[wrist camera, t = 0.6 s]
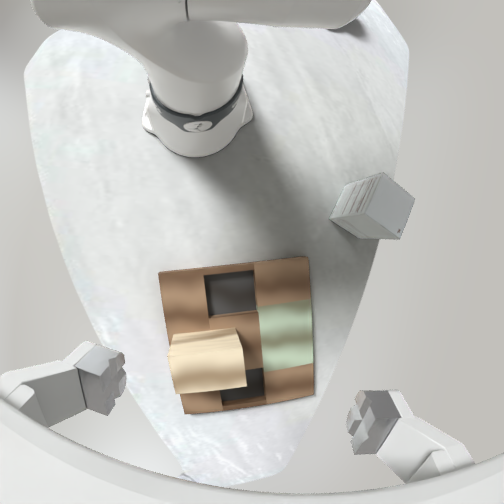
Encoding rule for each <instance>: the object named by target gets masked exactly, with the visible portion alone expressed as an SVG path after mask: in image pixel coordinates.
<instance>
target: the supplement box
mask: <svg viewBox="0 0 504 504" xmlns="http://www.w3.org/2000/svg"><path fill="white" fill-rule="evenodd" d="M414 200H415V198H414V197H412V196H411V195H410V194H409V193H408V192H407V191H405V190H404V189H403V188H402V187H400V186H399V185H398V184H397V183H396V182H394V181H393V180H392V179H391V178H390V177H388V176H387V175H386V174H385V173H380V174H377V175H374V176H371V177H368V178H365V179H362V180H359V181H356V182H353V183H350V184H347V185H345V187H344V189H343V191H342V193H341V195H340V197H339V199H338V201H337V203H336V206H335V208H334V210H333V212H332V214H331V216H330V218H329V219H330V220H331V221H333V222H334V223H336V224H338V225H339V226H341V227H342V228H344V229H345V230H347V231H348V232H350V233H351V234H353V235H354V236H356V237H358V238H359V239H360V238H363V239H400V237H401V235H402V232H403V230H404V228H405V225H406V222H407V220H408V217H409V215H410V212H411V209H412V207H413V204H414Z"/></svg>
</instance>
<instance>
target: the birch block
mask: <svg viewBox="0 0 504 504" xmlns="http://www.w3.org/2000/svg"><path fill="white" fill-rule="evenodd" d="M167 357H168V361H169V366H170V371H171V375H172V380H173V384H174V388H175V393H176V394H183V393H195V392H206V391H215V390H224V389H231V388H239V387H246V386H247V383H246V374H245V366H244V357H243V349H242V346H241V343H240V340H239V337H238V334H237V332H236V329H235V328H228V329H219V330H210V331H201V332H191V333H181V334H174V335H173V338H172V342H171V345H170V349H169V352H168V356H167Z"/></svg>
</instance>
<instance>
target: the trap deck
mask: <svg viewBox="0 0 504 504" xmlns="http://www.w3.org/2000/svg"><path fill="white" fill-rule="evenodd" d="M158 276H159V283H160V291H161V297H162V304H163V310H164V317H165V323H166V328H167V334H168V340H169V345H171V342H172V338H173V335H174V334H181V333H191V332H201V331H210V330H219V329H228V328H235V329H236V332H237V334H238V337H239V340H240V343H241V346H242V349H243V357H244V366H245V374H246V383H247V386H246V387H239V388H231V389H224V390H215V391H206V392H195V393H183V394H180V397H181V401H182V405H183V409H184V413H185V414H196V413H207V412H216V411H225V410H233V409H240V408H247V407H253V406H259V405H265V404H271V403H276V402H281V401H286V400H291V399H296V398H300V397H305V396H309V395H313V394H314V376H313V335H312V311H311V291H310V275H309V260H308V257H305V256H302V257H293V258H284V259H276V260H267V261H258V262H249V263H239V264H230V265H221V266H212V267H202V268H193V269H183V270H173V271H164V272H159V273H158Z"/></svg>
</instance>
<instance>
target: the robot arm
mask: <svg viewBox="0 0 504 504" xmlns="http://www.w3.org/2000/svg"><path fill="white" fill-rule="evenodd" d="M30 2H31V5H32V8H33V10H34V12H35V13H36V15H37V16H38V18H39V19H40V20H41V21H42V22H43V23H44V24H46V25H47V26H48V27H50V28H53V29H59V30H69V31H75V32H81V33H85V34H88V35H92V36H94V37H97V38H100V39H102V40H104V41H107V42H109V43H111V44H113V45H114V46H116V47H118V48H120V49H121V50H123V51H124V52H126V53H128V54H129V55H131V56H132V57H133V58H135V59H136V60H137V61H138V62H140V63H141V64H142V66H143V67H144V68H145V71H146V73H147V75H148V83H149V84H150V89H149V90H147V91H146V98H147V101H146V105H145V109H144V114H143V118H142V126H143V128H144V129H145V130H147V131H148V132H150V133H153V134H155V135H156V136H157V137H158V138H159V139H160V140H161V142H162V143H163V144H164V145H165V146H166V147H167V148H168V149H170V150H171V151H173V152H175V153H177V154H179V155H183V156H187V157H203V156H208V155H211V154H214V153H216V152H218V151H220V150H221V149H223V148H224V147H225V146H227V145H228V144H229V143H230V142H231V140H232V139H233V138H234V136H235V135H236V133H237V131H238V130H239V129H240V128H241V127H242V126H244V125H245V124H247V123H248V122H249V121H250V120H251V119H252V117H253V111H252V108H251V105H250V102H249V99H248V96H247V93H246V90H245V87H244V85H243V74H242V73H243V69H244V65H245V62H246V58H247V55H248V44H247V40H246V37H245V35H244V33H243V31H242V29H241V28H240V26H239V25H238V23H237V22H239V23H249V24H258V25H266V26H273V27H294V28H321V29H338V28H341V27H343V26H345V25H347V24H348V23H350V22H351V21H353V20H354V19H356V18H357V17H358V16H359V15H360V14H361V13H362V12H363V11H364V10H365V9H366V8H367V6H368V5H369V4H370V2H371V0H30ZM124 363H125V359H124V354H123V353H122V352H119V351H116V350H113V349H110V348H107V347H104V346H101V345H97V344H95V343H92V342H89V341H84V342H83V343H81V344H80V345H79V346H78V347H77V348H76V349H75V350H74V351H73V352H72V353H71V354H69V355H68V356H67V357H66V358H65V359H64V360H63V361H59V360H58V361H54V362H49V363H45V364H40V365H37V366H31V367H27V368H22V369H18V370H13V371H8V372H5V373H4V374H3V375H2V376H0V504H504V453H502V454H500V455H498V456H495V457H493V458H490V459H488V460H485V461H483V462H480V463H478V464H475V463H474V461H473V459H472V457H471V456H470V454H469V452H468V451H467V449H466V447H465V446H464V444H463V443H461V442H459V441H458V440H456V439H454V438H452V437H451V436H449V435H447V434H445V433H444V432H442V431H440V430H439V429H437V428H436V427H434V426H432V425H431V424H429V423H427V422H426V421H424V420H422V419H421V418H419V417H414V415H413V413H412V412H411V410H410V408H409V406H408V404H407V403H406V401H405V399H404V397H403V396H402V394H401V392H400V391H399V390H385V391H360V392H358V394H357V396H356V398H355V401H356V405H354V406H353V407H352V408H351V409H350V411H349V413H348V417H347V429H348V433H350V434H351V435H352V436H353V438H352V440H351V444H352V447H353V451H354V454H376V455H377V456H378V457H379V458H380V459H381V460H382V461H383V462H384V463H385V464H386V465H387V466H388V467H389V468H390V469H391V470H392V471H393V472H394V473H395V474H396V475H398V476H399V477H400V478H401V479H402V480H403V481H404V482H405V483H406V484H403V485H397V486H392V487H385V488H378V489H371V490H364V491H353V492H341V493H321V494H291V493H269V492H256V491H247V490H238V489H231V488H224V487H218V486H212V485H207V484H201V483H196V482H192V481H187V480H183V479H179V478H175V477H170V476H167V475H163V474H159V473H156V472H152V471H149V470H146V469H143V468H140V467H137V466H133V465H130V464H128V463H125V462H122V461H119V460H117V459H114V458H111V457H108V456H106V455H104V454H101V453H99V452H96V451H94V450H92V449H90V448H87V447H85V446H83V445H81V444H78V443H76V442H74V441H72V440H70V439H68V438H66V437H64V436H62V435H60V434H58V433H56V432H54V431H53V430H51V429H49V428H48V427H50V426H52V425H55V424H57V423H59V422H61V421H63V420H65V419H68V418H70V417H72V416H74V415H76V414H78V413H80V412H82V411H84V410H86V408H87V409H90V410H93V411H96V412H98V413H101V414H104V415H107V416H108V414H109V413H110V412H111V410H112V409H113V407H114V406H115V400H114V399H115V398H118V397H120V396H121V395H122V393H123V391H124V389H125V385H126V372H125V371H124V369H123V368H122V366H123V365H124Z"/></svg>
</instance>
